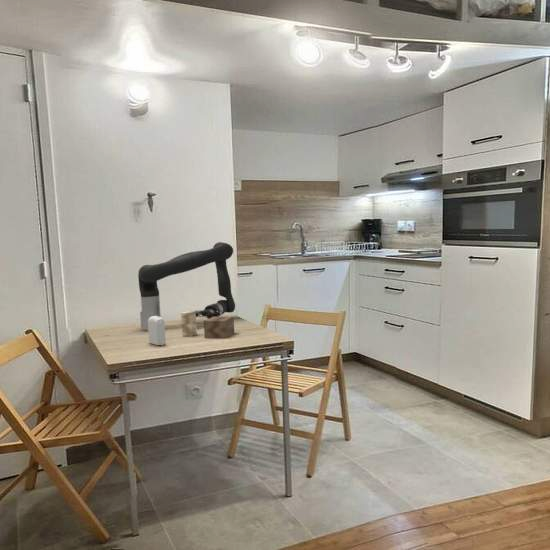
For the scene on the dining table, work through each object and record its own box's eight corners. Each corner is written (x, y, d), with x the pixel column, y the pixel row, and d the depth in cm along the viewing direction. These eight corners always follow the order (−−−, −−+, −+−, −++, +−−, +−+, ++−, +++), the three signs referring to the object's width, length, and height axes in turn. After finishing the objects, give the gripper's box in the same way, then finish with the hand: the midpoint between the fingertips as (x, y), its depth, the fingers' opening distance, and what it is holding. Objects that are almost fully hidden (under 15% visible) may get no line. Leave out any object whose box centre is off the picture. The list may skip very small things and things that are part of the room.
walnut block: (204, 338, 213) (203, 321, 213) (214, 333, 225) (214, 316, 224) (225, 338, 211) (224, 321, 210) (234, 333, 222) (233, 316, 221)
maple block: (182, 336, 219) (181, 313, 219) (187, 334, 224) (186, 311, 223) (192, 336, 218) (190, 313, 217) (196, 334, 223) (195, 311, 222)
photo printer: (147, 343, 207) (146, 315, 206) (156, 341, 210) (155, 314, 209) (158, 346, 199) (156, 317, 198) (167, 344, 202) (165, 316, 201)
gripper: (201, 304, 249) (187, 308, 234) (225, 303, 245) (213, 308, 230) (202, 317, 250) (188, 323, 234) (226, 317, 246) (214, 323, 230)
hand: (200, 316), depth 232 cm, fingers open, 8 cm apart
